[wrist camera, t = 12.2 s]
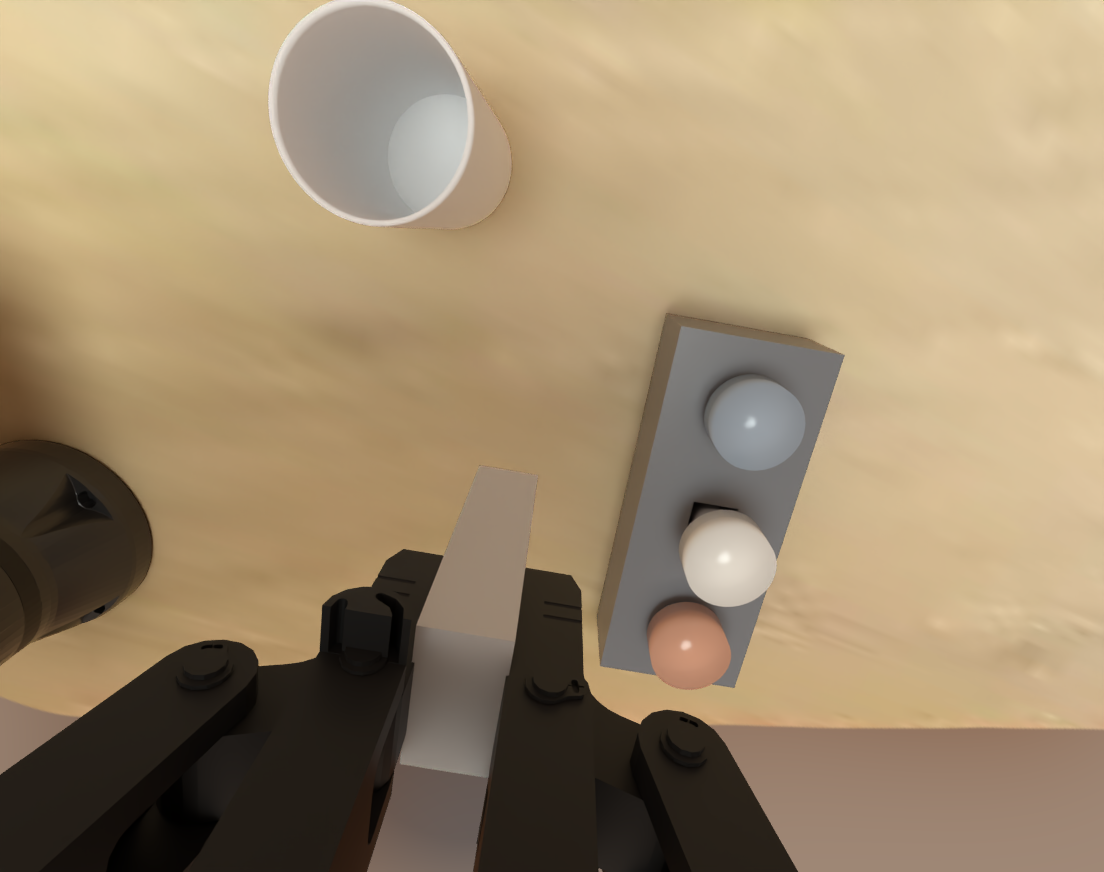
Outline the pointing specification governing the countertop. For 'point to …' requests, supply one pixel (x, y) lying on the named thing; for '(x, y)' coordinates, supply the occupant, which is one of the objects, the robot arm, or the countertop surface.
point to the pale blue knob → (754, 422)
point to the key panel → (702, 478)
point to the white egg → (725, 556)
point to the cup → (385, 120)
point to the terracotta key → (688, 646)
